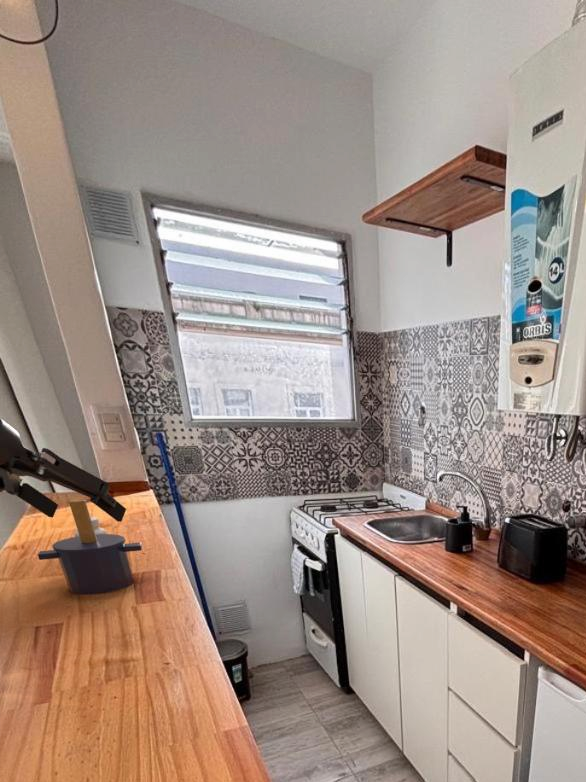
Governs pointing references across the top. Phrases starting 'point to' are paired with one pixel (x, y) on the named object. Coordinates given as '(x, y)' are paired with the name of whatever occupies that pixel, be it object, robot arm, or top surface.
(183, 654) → the top surface
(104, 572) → the pot
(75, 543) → the lid
